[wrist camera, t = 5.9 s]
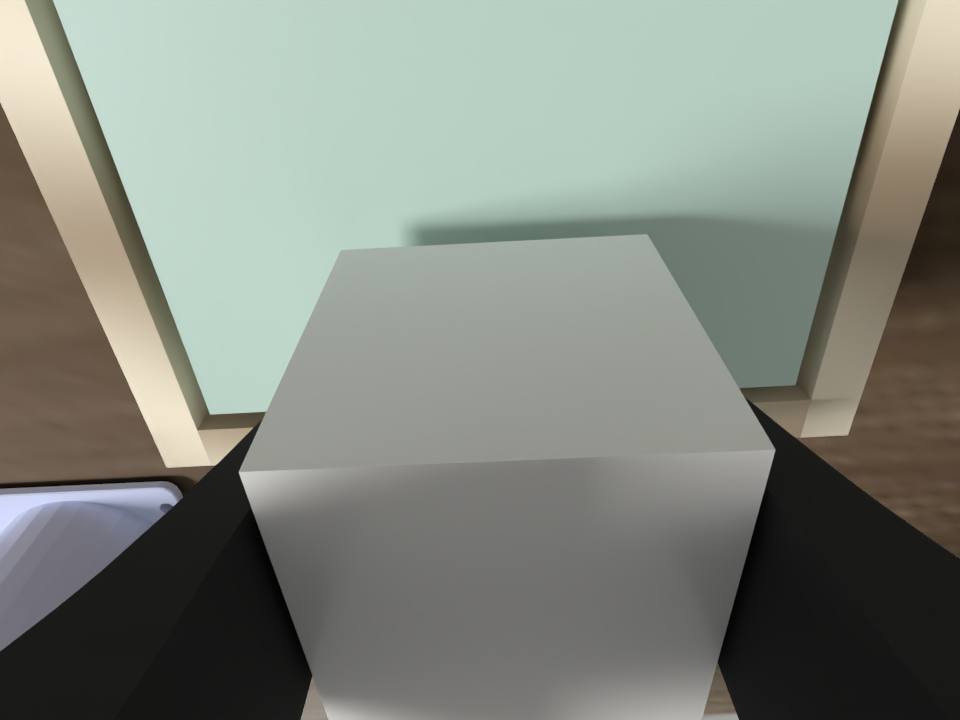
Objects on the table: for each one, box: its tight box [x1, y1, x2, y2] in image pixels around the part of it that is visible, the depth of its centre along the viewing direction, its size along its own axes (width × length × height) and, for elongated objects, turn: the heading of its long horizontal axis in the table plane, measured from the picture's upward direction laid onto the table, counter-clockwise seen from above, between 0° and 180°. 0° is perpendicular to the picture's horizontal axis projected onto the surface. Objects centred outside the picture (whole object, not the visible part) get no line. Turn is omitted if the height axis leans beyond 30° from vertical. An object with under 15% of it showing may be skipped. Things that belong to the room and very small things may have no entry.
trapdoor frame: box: [0, 0, 960, 468], centre depth 13 cm, size 12×15×6 cm
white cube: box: [239, 234, 775, 720], centre depth 9 cm, size 5×5×5 cm
